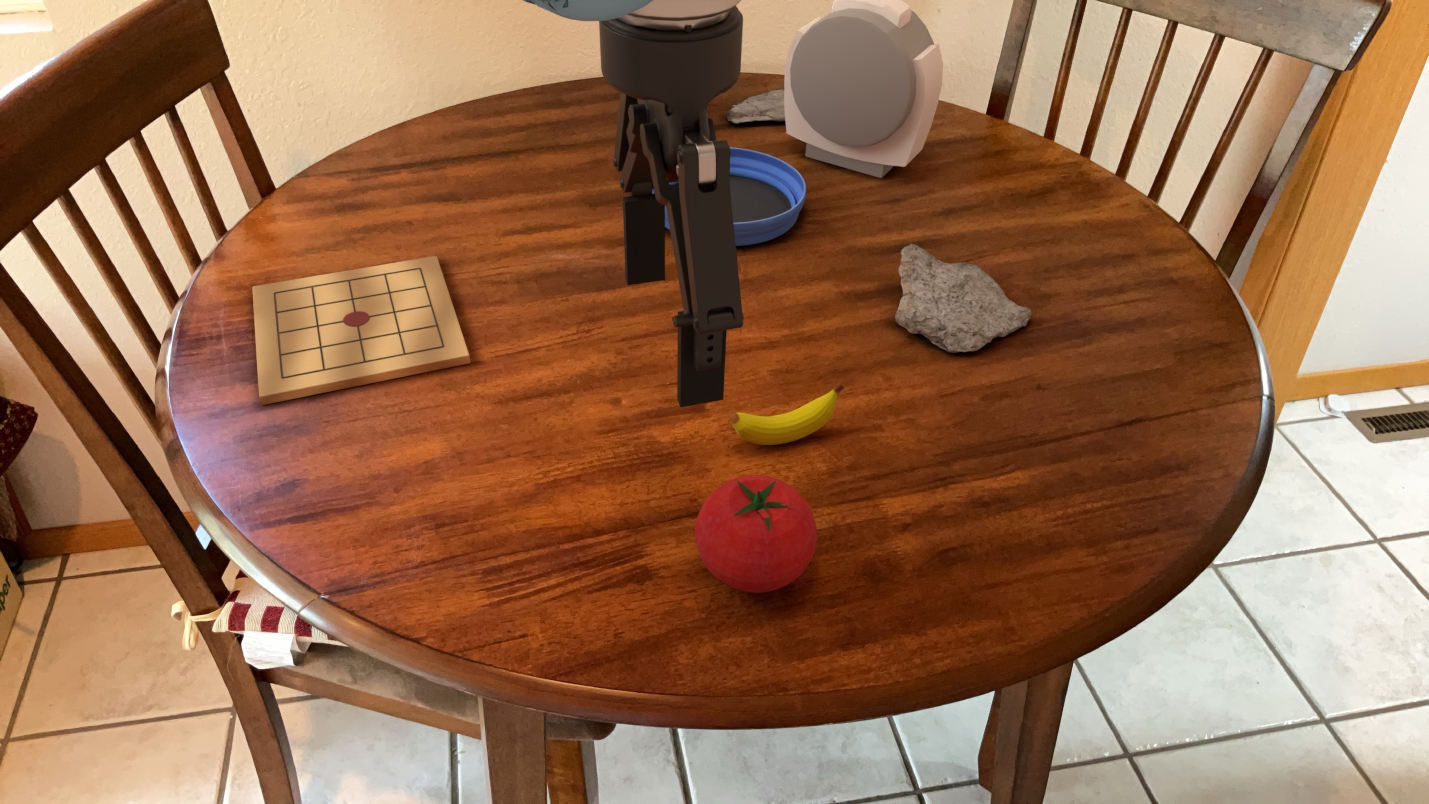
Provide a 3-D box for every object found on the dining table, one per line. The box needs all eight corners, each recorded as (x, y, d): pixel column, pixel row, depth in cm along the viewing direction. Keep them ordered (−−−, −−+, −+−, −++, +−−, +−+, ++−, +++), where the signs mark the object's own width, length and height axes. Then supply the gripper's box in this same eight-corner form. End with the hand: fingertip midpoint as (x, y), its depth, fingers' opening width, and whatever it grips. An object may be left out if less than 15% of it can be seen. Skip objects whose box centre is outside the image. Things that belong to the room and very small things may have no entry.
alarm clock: (929, 165, 123) (961, 0, 110) (904, 192, 118) (934, 22, 104) (802, 129, 130) (818, -30, 117) (773, 153, 124) (785, -11, 111)
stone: (731, 128, 129) (731, 122, 129) (715, 98, 136) (715, 93, 136) (880, 117, 133) (881, 112, 133) (857, 89, 140) (858, 84, 140)
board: (261, 405, 84) (258, 396, 84) (254, 294, 97) (251, 285, 96) (470, 363, 90) (469, 354, 89) (438, 263, 102) (436, 254, 102)
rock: (941, 332, 89) (866, 240, 99) (926, 367, 92) (854, 274, 101) (1056, 323, 94) (974, 236, 104) (1038, 356, 97) (960, 268, 107)
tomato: (801, 625, 68) (812, 550, 63) (680, 600, 70) (681, 524, 65) (820, 534, 75) (832, 459, 70) (709, 512, 76) (712, 437, 71)
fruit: (832, 418, 85) (838, 374, 82) (842, 434, 84) (850, 389, 81) (723, 443, 83) (725, 398, 79) (732, 460, 81) (735, 414, 78)
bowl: (619, 226, 109) (618, 198, 107) (690, 161, 122) (690, 134, 120) (767, 267, 104) (770, 238, 101) (825, 194, 116) (828, 167, 114)
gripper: (830, 93, 42) (791, 450, 56) (676, -67, 60) (674, 232, 74) (663, 110, 40) (664, 474, 54) (555, -61, 58) (577, 245, 72)
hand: (670, 335), depth 64 cm, fingers open, 13 cm apart
